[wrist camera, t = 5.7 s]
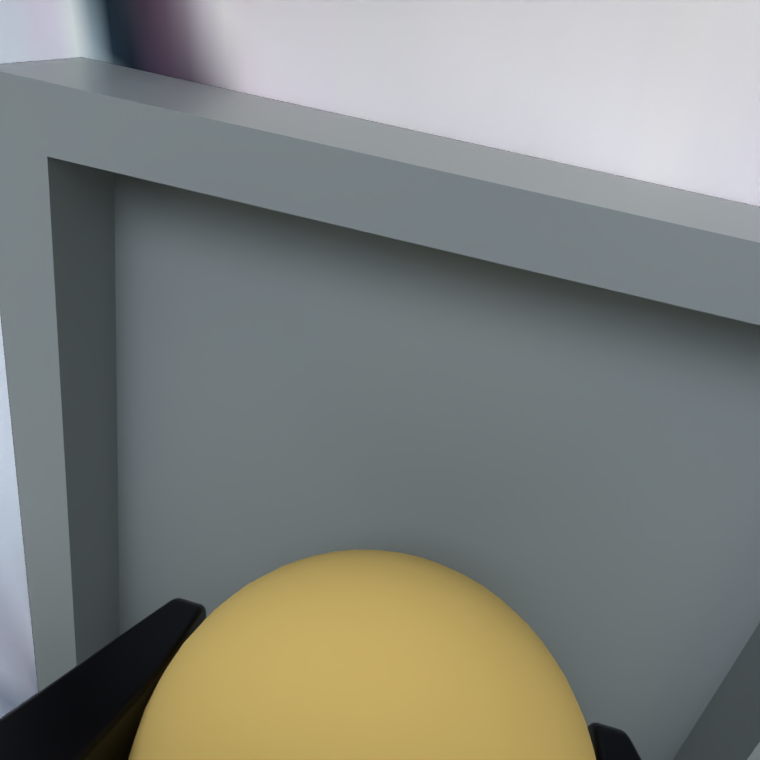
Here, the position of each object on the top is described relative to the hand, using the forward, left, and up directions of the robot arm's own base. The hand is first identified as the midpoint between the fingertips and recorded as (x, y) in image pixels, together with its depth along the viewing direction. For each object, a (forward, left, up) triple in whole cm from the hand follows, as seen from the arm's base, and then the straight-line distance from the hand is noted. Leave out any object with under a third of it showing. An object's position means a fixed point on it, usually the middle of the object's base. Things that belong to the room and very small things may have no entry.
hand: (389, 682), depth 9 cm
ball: (0, 0, -1) cm, 1 cm away
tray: (0, 0, -3) cm, 3 cm away
